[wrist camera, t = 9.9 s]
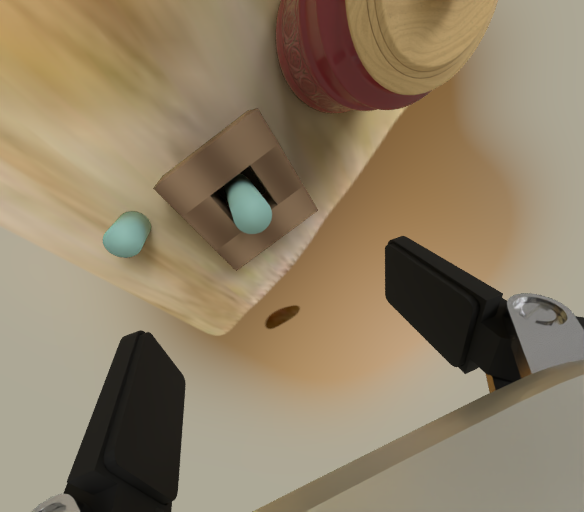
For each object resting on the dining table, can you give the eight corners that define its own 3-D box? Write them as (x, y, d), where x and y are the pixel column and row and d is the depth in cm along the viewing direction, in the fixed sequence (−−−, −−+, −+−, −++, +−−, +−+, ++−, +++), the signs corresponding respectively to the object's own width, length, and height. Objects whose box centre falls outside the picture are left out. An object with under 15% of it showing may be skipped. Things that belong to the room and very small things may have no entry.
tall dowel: (247, 170, 30) (266, 191, 21) (255, 197, 32) (275, 227, 23) (220, 178, 30) (227, 203, 20) (229, 204, 31) (240, 238, 22)
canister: (395, -26, 26) (654, -225, 11) (370, 117, 32) (515, 113, 17) (273, -60, 22) (415, -436, 7) (271, 109, 28) (345, 95, 13)
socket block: (247, 110, 27) (257, 108, 22) (301, 196, 34) (318, 210, 29) (162, 176, 28) (153, 188, 23) (231, 248, 34) (236, 270, 29)
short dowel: (142, 207, 29) (131, 222, 24) (156, 233, 30) (148, 251, 26) (111, 216, 28) (95, 232, 24) (127, 242, 30) (114, 261, 26)
